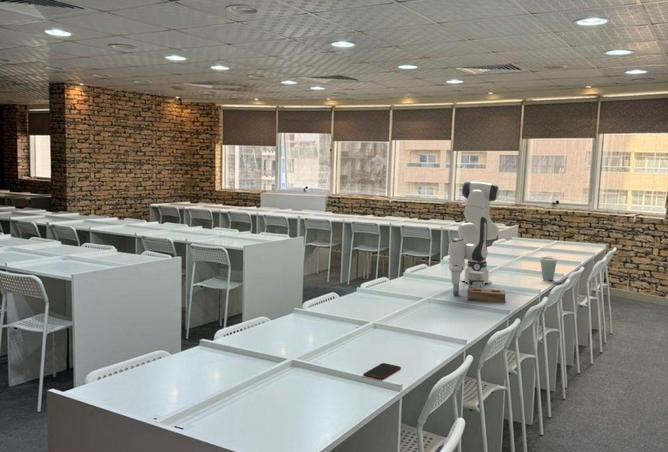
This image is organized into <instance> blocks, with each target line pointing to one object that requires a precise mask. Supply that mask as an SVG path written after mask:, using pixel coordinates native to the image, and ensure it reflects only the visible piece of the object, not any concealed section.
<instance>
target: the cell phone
mask: <svg viewBox="0 0 668 452" xmlns="http://www.w3.org/2000/svg"><path fill="white" fill-rule="evenodd" d="M400 370H402V367H401V366H399V365H395V364H391V363H386V362H382V363H380V364H377V365H376V366H375V367H372V368H371V369H369V370H368V371H366V372H364V373H363V377H365V376H366V377H365V378H369V377H370V378H371V379H374V378H375V379H374V380H378V379H381V380H380V381H384V380H385V379H387V378H388V377H390V376H392V375H394V374H395V373H397V372H398V371H400Z"/></svg>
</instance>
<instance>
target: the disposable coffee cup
mask: <svg viewBox="0 0 668 452" xmlns="http://www.w3.org/2000/svg"><path fill="white" fill-rule="evenodd" d="M557 262H558V261H557V259H556V258H554V257H549V256H542V257H541V258H540V267H541V268H540V269H541V276H542V280H543V279H544V280H543V281H545V280H553V281H554V278H555V277H554V276H555V274H556V273H555V271H556V266H557Z"/></svg>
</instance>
